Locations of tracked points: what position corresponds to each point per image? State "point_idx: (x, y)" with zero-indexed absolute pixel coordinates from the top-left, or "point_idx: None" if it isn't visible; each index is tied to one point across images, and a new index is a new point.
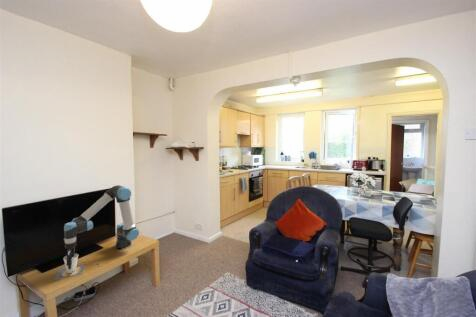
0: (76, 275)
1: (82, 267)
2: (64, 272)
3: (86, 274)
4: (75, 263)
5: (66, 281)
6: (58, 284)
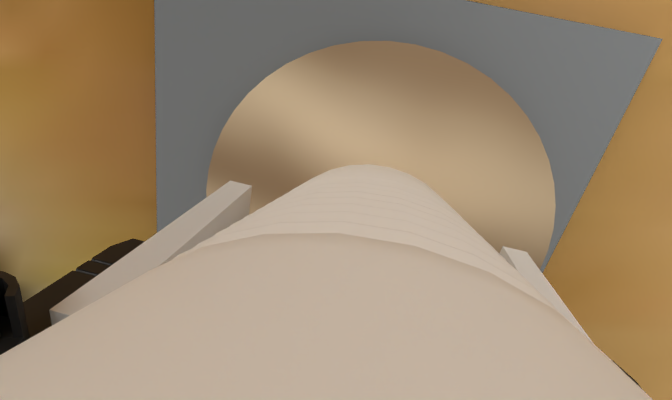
0: (600, 150)
1: (280, 17)
2: None
3: None
4: (528, 283)
5: (666, 305)
6: (657, 395)
